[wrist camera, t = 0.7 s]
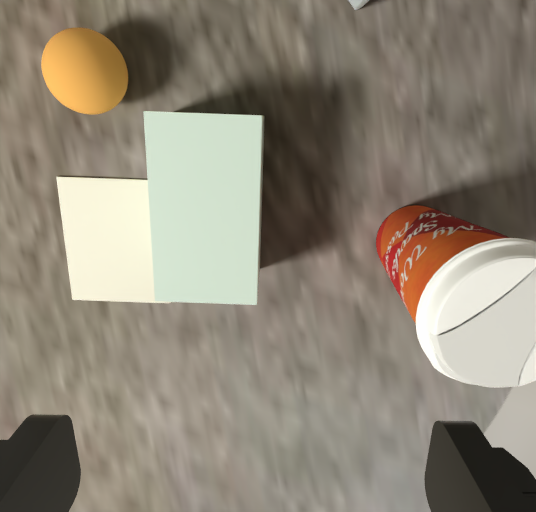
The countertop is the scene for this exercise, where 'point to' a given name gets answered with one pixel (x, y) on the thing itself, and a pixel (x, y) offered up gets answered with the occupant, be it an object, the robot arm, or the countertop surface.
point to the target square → (107, 238)
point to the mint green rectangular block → (205, 205)
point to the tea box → (358, 3)
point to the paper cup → (465, 294)
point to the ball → (84, 70)
